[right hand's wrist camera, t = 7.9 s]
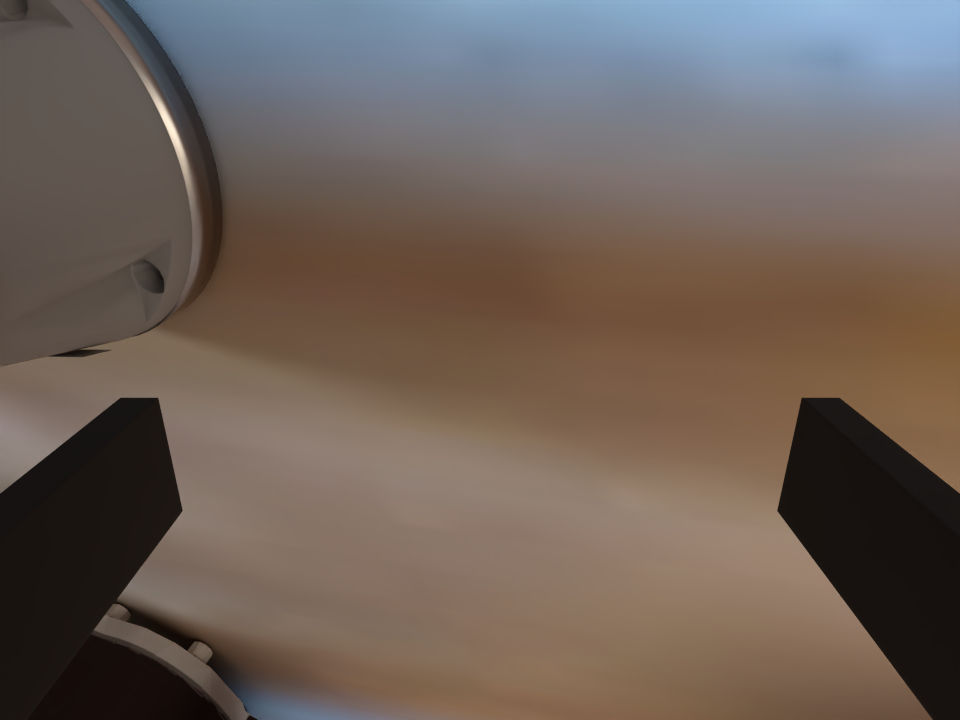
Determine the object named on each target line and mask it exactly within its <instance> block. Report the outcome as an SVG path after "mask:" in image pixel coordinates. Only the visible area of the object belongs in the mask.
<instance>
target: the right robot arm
mask: <svg viewBox="0 0 960 720" xmlns="http://www.w3.org/2000/svg"><path fill="white" fill-rule="evenodd" d="M221 234H222V202H221V194H220V185H219V180H218V175H217V170H216V165H215V161H214V158H213V154H212V151H211V147H210V144H209V141H208V138H207V135H206V132H205V130H204V127H203V124H202V121H201V119H200V117H199V114H198V112H197V110H196V107H195V105H194V103H193V101H192V98H191V96H190V95H189V93H188V91H187V89H186V87H185V85H184V83H183V81H182V79H181V77H180V75H179V74H178V72H177V70H176V69H175V67H174V65H173V64H172V62H171V60H170V59H169V57H168V55H167V54H166V52H165V51H164V50H163V48H162V47H161V45H160V44H159V42H158V41H157V39H156V38H155V37H154V35H153V34H152V32H151V31H150V30H149V29H148V27H147V26H146V25H145V24H144V22H143V21H142V20H141V19H140V17H139V16H138V15H137V13H136V12H135V11H134V10H133V9H132V8H131V7H130V6H129V5H128V3H127V2H126V1H125V0H0V367H1V366H5V365H10V364H14V363H19V362H23V361H28V360H33V359H37V358H42V357H46V356H53V357H85V356H89V355H93V354H97V353H102V352H106V351H110V350H78V349H83V348H87V347H92V346H97V345H101V344H106V343H110V342H115V341H119V340H123V339H126V338H130V337H133V336H137V335H140V334H142V333H145V332H147V331H150V330H151V329H153V328H154V327H156V326H158V325H159V324H161V323H162V322H164V321H166V320H167V319H169V318H170V317H172V316H173V315H175V314H177V313H178V312H180V311H181V310H183V309H184V308H186V307H187V306H188V305H189V304H191V303H192V302H193V301H194V300H195V299H196V298H197V297H198V295H199V294H200V293H201V292H202V291H203V289H204V287H205V286H206V284H207V283H208V281H209V279H210V277H211V275H212V272H213V270H214V268H215V264H216V261H217V258H218V254H219V248H220V243H221ZM182 511H183V510H182V506H181V501H180V496H179V492H178V487H177V483H176V478H175V473H174V469H173V464H172V460H171V455H170V450H169V446H168V441H167V436H166V432H165V427H164V423H163V418H162V413H161V409H160V404H159V400H158V398H120V399H119V400H117V401H116V402H115V403H114V404H112V405H111V406H110V407H108V408H107V409H106V410H105V411H103V412H102V413H101V414H100V415H98V416H97V417H96V418H95V419H93V420H92V421H91V422H90V423H88V424H87V425H86V426H85V427H83V428H82V429H81V430H80V431H78V432H77V433H76V434H75V435H73V436H72V437H71V438H70V439H68V440H67V441H66V442H65V443H63V444H62V445H61V446H60V447H58V448H57V449H56V450H55V451H53V452H52V453H51V454H49V455H48V456H47V457H46V458H44V459H43V460H42V461H41V462H39V463H38V464H37V465H36V466H34V467H33V468H32V469H31V470H29V471H28V472H27V473H26V474H24V475H23V476H22V477H21V478H19V479H18V480H17V481H16V482H14V483H13V484H12V485H11V486H9V487H8V488H7V489H6V490H4V491H3V492H2V493H1V494H0V720H27V719H28V718H29V716H30V715H31V714H32V712H33V711H34V710H35V708H36V707H37V706H38V704H39V703H40V702H41V700H42V699H43V698H44V696H45V695H46V694H47V692H48V691H49V690H50V688H51V687H52V686H53V684H54V683H55V681H56V680H57V679H58V677H59V676H60V675H61V673H62V672H63V671H64V669H65V668H66V667H67V665H68V664H69V663H70V661H71V660H72V659H73V657H74V656H75V655H76V653H77V652H78V651H79V649H80V648H81V647H82V645H83V644H84V643H85V641H86V640H87V639H88V637H89V636H90V635H91V633H92V632H93V630H94V629H95V628H96V626H97V625H98V624H99V622H100V621H101V620H102V618H103V617H104V616H105V614H106V613H107V612H108V610H109V609H110V608H111V606H112V605H113V604H114V602H115V601H116V600H117V598H118V597H119V596H120V594H121V593H122V592H123V590H124V589H125V588H126V586H127V585H128V583H129V582H130V581H131V579H132V578H133V577H134V575H135V574H136V573H137V571H138V570H139V569H140V567H141V566H142V565H143V563H144V562H145V561H146V559H147V558H148V557H149V555H150V554H151V553H152V551H153V550H154V549H155V547H156V546H157V545H158V543H159V542H160V541H161V539H162V538H163V537H164V535H165V534H166V532H167V531H168V530H169V528H170V527H171V526H172V524H173V523H174V522H175V520H176V519H177V518H178V516H179V515H180V514H181V512H182ZM777 511H778V512H779V514H780V515H781V516H782V518H783V519H784V520H785V522H786V523H787V524H788V526H789V527H790V528H791V530H792V531H793V532H794V534H795V535H796V537H797V538H798V539H799V541H800V542H801V543H802V545H803V546H804V547H805V549H806V550H807V551H808V553H809V554H810V555H811V557H812V558H813V559H814V561H815V562H816V563H817V565H818V566H819V567H820V569H821V570H822V571H823V573H824V574H825V575H826V577H827V578H828V579H829V581H830V582H831V583H832V585H833V586H834V588H835V589H836V590H837V592H838V593H839V594H840V596H841V597H842V598H843V600H844V601H845V602H846V604H847V605H848V606H849V608H850V609H851V610H852V612H853V613H854V614H855V616H856V617H857V618H858V620H859V621H860V622H861V624H862V625H863V626H864V628H865V629H866V630H867V632H868V633H869V635H870V636H871V637H872V639H873V640H874V641H875V643H876V644H877V645H878V647H879V648H880V649H881V651H882V652H883V653H884V655H885V656H886V657H887V659H888V660H889V661H890V663H891V664H892V665H893V667H894V668H895V669H896V671H897V672H898V673H899V675H900V676H901V677H902V679H903V680H904V681H905V683H906V684H907V686H908V687H909V688H910V690H911V691H912V692H913V694H914V695H915V696H916V698H917V699H918V700H919V702H920V703H921V704H922V706H923V707H924V708H925V710H926V711H927V712H928V714H929V715H930V716H931V718H932V719H933V720H960V494H959V493H958V492H957V491H956V490H954V489H953V488H952V487H951V486H949V485H948V484H947V483H946V482H944V481H943V480H942V479H941V478H939V477H938V476H937V475H936V474H934V473H933V472H932V471H931V470H929V469H928V468H927V467H926V466H924V465H923V464H922V463H921V462H919V461H918V460H917V459H916V458H914V457H913V456H912V455H911V454H909V453H908V452H907V451H905V450H904V449H903V448H902V447H900V446H899V445H898V444H897V443H895V442H894V441H893V440H892V439H890V438H889V437H888V436H887V435H885V434H884V433H883V432H882V431H880V430H879V429H878V428H877V427H875V426H874V425H873V424H872V423H870V422H869V421H868V420H867V419H865V418H864V417H863V416H862V415H860V414H859V413H858V412H857V411H855V410H854V409H853V408H852V407H850V406H849V405H848V404H846V403H845V402H844V401H843V400H841V399H840V398H802V400H801V404H800V409H799V413H798V418H797V423H796V427H795V432H794V436H793V441H792V446H791V450H790V455H789V460H788V464H787V469H786V473H785V478H784V483H783V487H782V492H781V496H780V501H779V506H778V510H777Z"/></svg>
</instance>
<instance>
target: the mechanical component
mask: <svg viewBox="0 0 960 720" xmlns="http://www.w3.org/2000/svg"><path fill="white" fill-rule="evenodd" d="M130 617H131V615H130V613H129V612H128V610H127V609H125V608H124V607H123V606H121V605H119V604H113V605H112V606H111V608H110V609H109V610H108V612H107V613H106V614H105V616H104V617H103V618H102V620H101V621H100V622H99V624H98V625H97V626H96V628H95V629H94V630H93V632H92V633H91V635H90V636H89V637H88V639H87V640H86V641H85V643H84V644H83V645H82V647H81V648H80V649H79V651H78V652H77V653H76V655H75V656H74V657H73V659H72V660H71V661H70V663H69V664H68V665H67V667H66V668H65V669H64V671H63V672H62V673H61V675H60V676H59V677H58V679H57V680H56V681H55V683H54V684H53V686H52V687H51V688H50V690H49V691H48V692H47V694H46V695H45V696H44V698H43V699H42V700H41V702H40V703H39V704H38V706H37V707H36V708H35V710H34V711H33V712H32V714H31V715H30V716H29V718H28V719H27V720H257V719H255V718H254V717H252V716H251V715H250V714H249V713H247V712H246V711H245V709H244V706H243V703H242V701H241V700H240V699H239V698H238V697H237V696H236V695H235V694H234V693H233V692H232V691H231V689H230V688H229V687H228V686H227V685H226V684H225V683H224V682H223V681H222V680H221V679H220V677H219V676H218V675H217V674H216V673H215V672H214V671H213V670H212V669H211V668H210V667H209V666H208V665H206V663H207V662H208V660H209V659H210V658H211V656H212V654H213V653H212V651H211V649H210V648H209V647H208V646H207V645H205V644H203V643H201V642H196V641H195V642H194V643H193V644H192V646H191V647H190V648H189V649H188V651H186V650H185V649H183V648H182V647H180V646H179V645H177V644H176V643H174V642H172V641H170V640H168V639H166V638H164V637H162V636H160V635H158V634H156V633H154V632H152V631H150V630H148V629H146V628H144V627H141V626H138V625H134V624H131V623H128V622H127V621H128V620H129V619H130Z"/></svg>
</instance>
